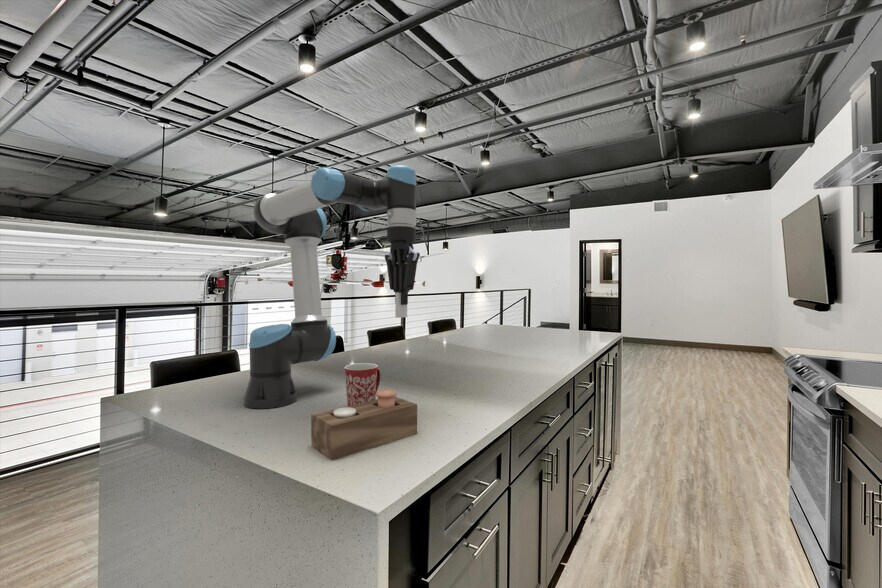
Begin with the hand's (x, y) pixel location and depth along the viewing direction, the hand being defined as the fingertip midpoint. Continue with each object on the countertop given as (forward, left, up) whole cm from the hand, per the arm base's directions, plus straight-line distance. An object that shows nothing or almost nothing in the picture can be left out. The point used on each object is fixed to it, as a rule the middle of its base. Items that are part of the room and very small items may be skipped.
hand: (401, 317), depth 103 cm
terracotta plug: (+5, -8, -24) cm, 26 cm away
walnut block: (+5, -14, -27) cm, 31 cm away
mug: (-12, -4, -28) cm, 30 cm away
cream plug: (+5, -19, -26) cm, 33 cm away
